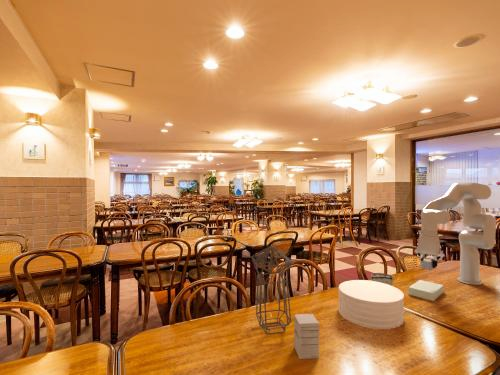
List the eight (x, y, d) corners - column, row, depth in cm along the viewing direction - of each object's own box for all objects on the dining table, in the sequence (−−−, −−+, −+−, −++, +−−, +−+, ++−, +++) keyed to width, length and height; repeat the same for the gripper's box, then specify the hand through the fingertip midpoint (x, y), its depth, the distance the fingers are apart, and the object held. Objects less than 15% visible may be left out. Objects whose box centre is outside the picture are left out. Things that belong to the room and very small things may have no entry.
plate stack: (411, 313, 136) (411, 289, 136) (391, 337, 115) (392, 308, 115) (353, 297, 155) (353, 276, 155) (327, 314, 135) (328, 290, 134)
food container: (389, 290, 165) (389, 273, 164) (393, 294, 158) (394, 276, 158) (367, 289, 166) (367, 272, 166) (370, 293, 160) (370, 275, 159)
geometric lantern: (296, 336, 115) (295, 249, 114) (258, 341, 113) (256, 252, 111) (285, 317, 131) (284, 241, 129) (251, 321, 128) (249, 243, 127)
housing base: (420, 268, 158) (420, 261, 158) (426, 264, 164) (426, 257, 164) (431, 270, 154) (431, 262, 154) (436, 266, 161) (436, 259, 161)
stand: (419, 286, 171) (419, 279, 171) (443, 292, 162) (443, 285, 162) (408, 294, 159) (408, 287, 159) (433, 301, 150) (433, 293, 150)
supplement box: (293, 347, 108) (293, 313, 107) (313, 346, 108) (313, 313, 108) (298, 359, 100) (298, 323, 100) (319, 358, 101) (319, 322, 101)
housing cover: (423, 261, 157) (423, 258, 157) (428, 258, 163) (428, 255, 163) (431, 262, 155) (431, 259, 155) (435, 259, 161) (435, 256, 160)
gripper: (410, 232, 162) (409, 264, 163) (445, 236, 150) (445, 271, 150) (414, 230, 168) (414, 262, 168) (449, 234, 155) (448, 268, 156)
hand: (428, 266), depth 159 cm, fingers closed on housing base, 5 cm apart
